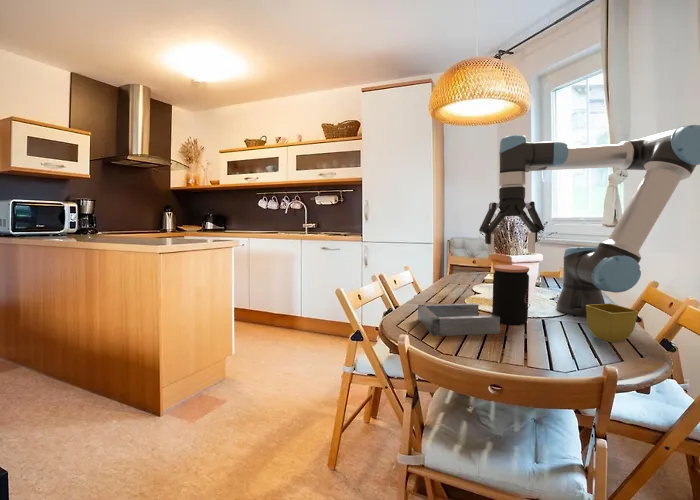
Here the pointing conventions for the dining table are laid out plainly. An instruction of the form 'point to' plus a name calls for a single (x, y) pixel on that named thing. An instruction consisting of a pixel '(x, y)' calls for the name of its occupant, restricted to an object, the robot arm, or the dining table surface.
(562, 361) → the dining table surface
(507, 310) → the coffee jar
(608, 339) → the flower pot
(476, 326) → the channel
